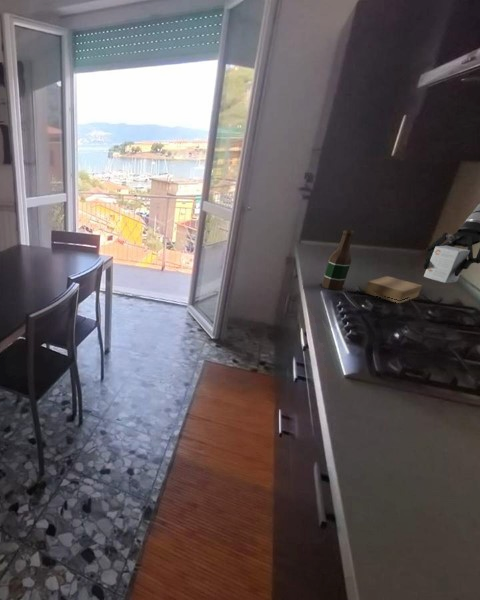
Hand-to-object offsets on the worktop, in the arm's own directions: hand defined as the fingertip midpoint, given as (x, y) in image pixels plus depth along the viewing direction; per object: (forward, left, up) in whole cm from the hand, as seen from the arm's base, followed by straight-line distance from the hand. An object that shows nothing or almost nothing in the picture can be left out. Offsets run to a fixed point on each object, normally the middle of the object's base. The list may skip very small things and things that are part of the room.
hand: (439, 270), depth 141 cm
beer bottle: (+13, +35, -10) cm, 38 cm away
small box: (+1, -3, -5) cm, 6 cm away
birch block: (+1, +19, -9) cm, 21 cm away
